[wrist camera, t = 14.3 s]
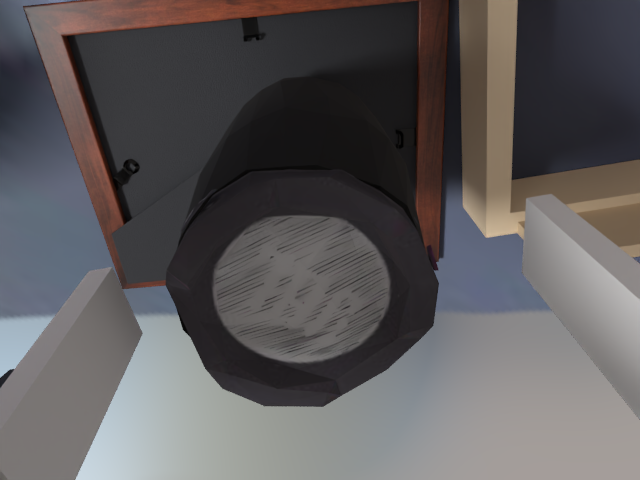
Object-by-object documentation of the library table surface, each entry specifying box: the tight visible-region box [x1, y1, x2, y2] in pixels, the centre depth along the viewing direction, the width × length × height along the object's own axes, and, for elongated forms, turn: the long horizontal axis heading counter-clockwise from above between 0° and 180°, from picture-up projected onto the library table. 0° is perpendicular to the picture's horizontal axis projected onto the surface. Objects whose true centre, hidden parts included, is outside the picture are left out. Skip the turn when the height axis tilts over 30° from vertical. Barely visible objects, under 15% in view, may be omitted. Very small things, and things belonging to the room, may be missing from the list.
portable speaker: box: [166, 76, 439, 407], centre depth 21 cm, size 9×9×20 cm
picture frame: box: [23, 0, 449, 289], centre depth 32 cm, size 20×2×25 cm
